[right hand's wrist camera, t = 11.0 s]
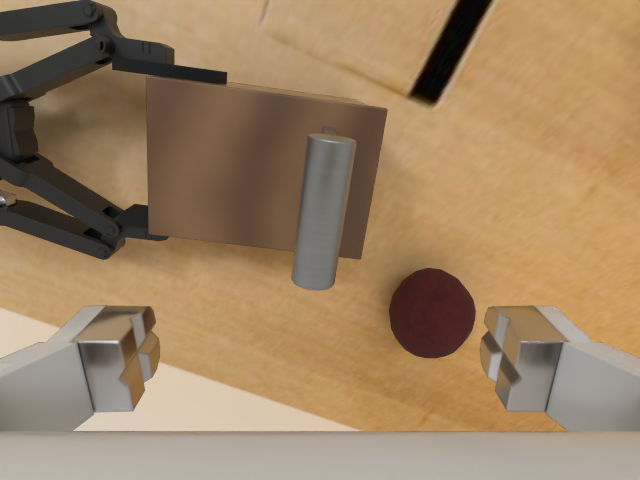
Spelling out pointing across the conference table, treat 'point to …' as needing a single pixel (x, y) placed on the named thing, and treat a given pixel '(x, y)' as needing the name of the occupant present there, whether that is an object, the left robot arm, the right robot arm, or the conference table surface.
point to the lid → (262, 171)
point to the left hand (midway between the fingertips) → (219, 155)
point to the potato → (431, 313)
